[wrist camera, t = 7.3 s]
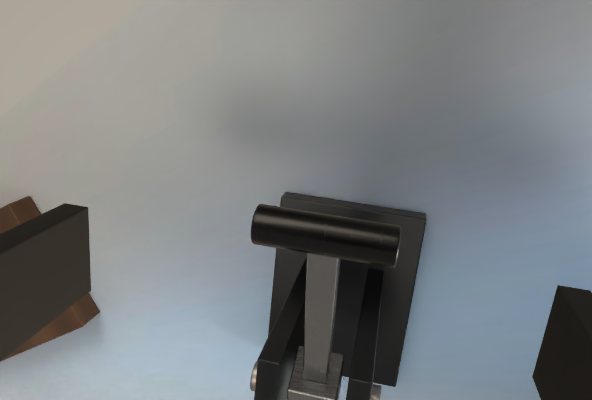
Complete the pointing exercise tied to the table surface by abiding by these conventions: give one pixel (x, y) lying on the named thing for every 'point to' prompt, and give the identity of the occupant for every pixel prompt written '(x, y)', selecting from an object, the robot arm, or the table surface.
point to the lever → (322, 282)
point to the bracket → (344, 306)
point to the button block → (68, 319)
